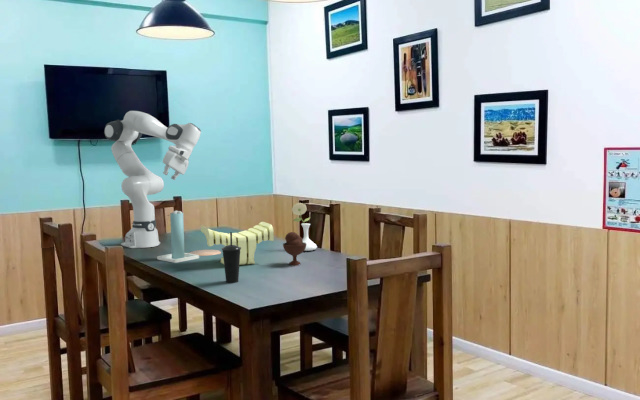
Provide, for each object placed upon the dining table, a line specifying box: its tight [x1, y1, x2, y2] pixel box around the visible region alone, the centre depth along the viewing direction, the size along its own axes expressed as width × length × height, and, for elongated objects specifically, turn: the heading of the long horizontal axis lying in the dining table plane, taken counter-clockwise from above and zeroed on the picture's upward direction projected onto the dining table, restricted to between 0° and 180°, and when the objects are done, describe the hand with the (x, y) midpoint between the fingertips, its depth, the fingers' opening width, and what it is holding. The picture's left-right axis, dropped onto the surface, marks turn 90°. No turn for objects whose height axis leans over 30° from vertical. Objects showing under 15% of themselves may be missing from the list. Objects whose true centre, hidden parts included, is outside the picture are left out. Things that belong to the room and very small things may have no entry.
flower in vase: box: [291, 202, 318, 252], centre depth 300 cm, size 13×11×25 cm
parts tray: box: [156, 252, 200, 264], centre depth 278 cm, size 14×14×2 cm
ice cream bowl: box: [282, 231, 306, 266], centre depth 264 cm, size 11×11×15 cm
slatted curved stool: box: [200, 221, 275, 266], centre depth 268 cm, size 30×16×18 cm, turn 115°
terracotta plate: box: [188, 249, 222, 257], centre depth 293 cm, size 16×16×1 cm
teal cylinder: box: [169, 210, 185, 259], centre depth 277 cm, size 6×6×23 cm
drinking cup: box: [221, 231, 241, 284], centre depth 231 cm, size 8×8×20 cm
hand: (168, 176), depth 295 cm, fingers open, 8 cm apart
